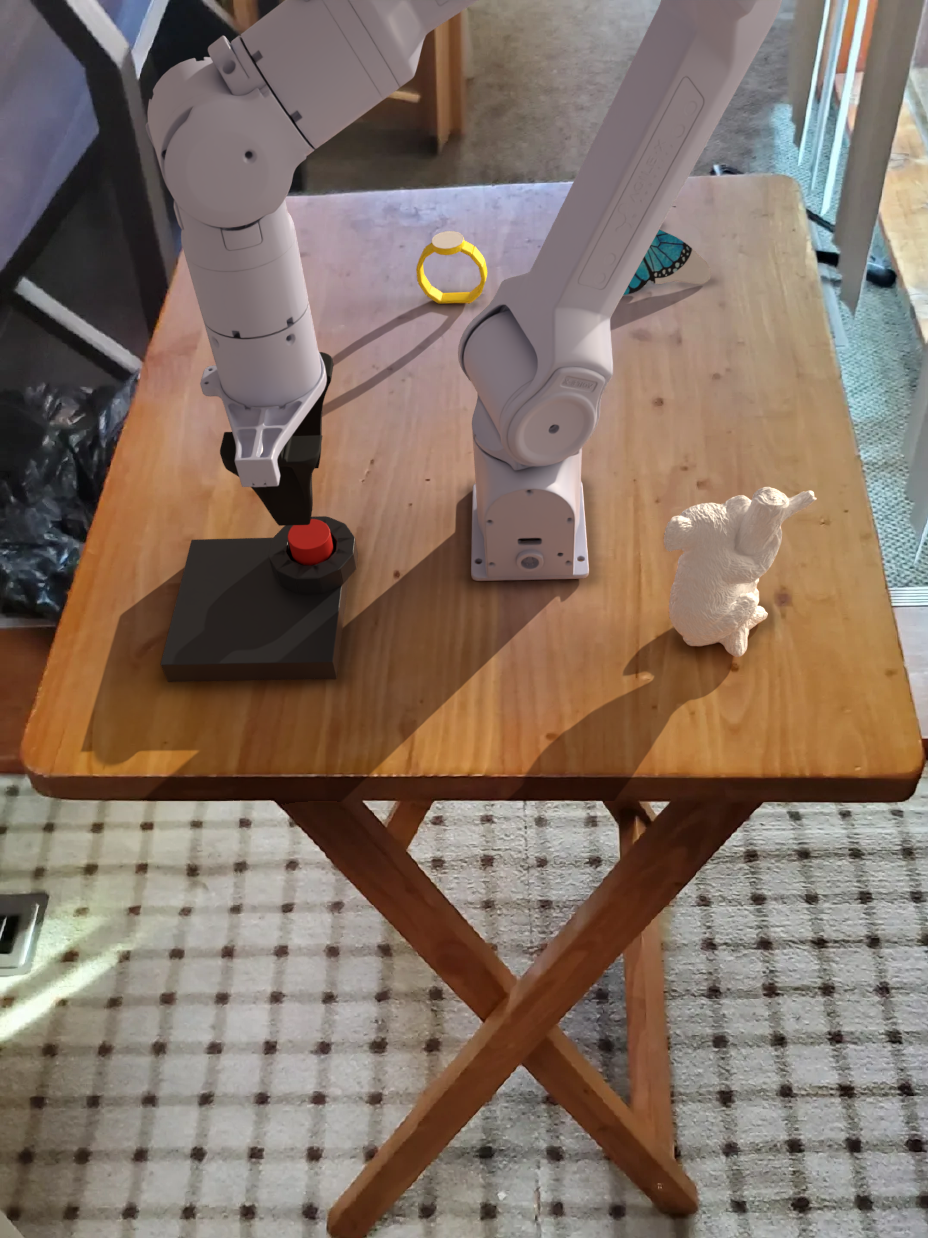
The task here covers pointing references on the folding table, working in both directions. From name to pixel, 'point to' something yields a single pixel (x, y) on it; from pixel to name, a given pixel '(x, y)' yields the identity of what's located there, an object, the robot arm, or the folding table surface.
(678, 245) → the decorative butterfly
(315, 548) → the button
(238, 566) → the black red button box
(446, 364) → the folding table surface
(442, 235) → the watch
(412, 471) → the folding table surface
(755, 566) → the koala figurine
